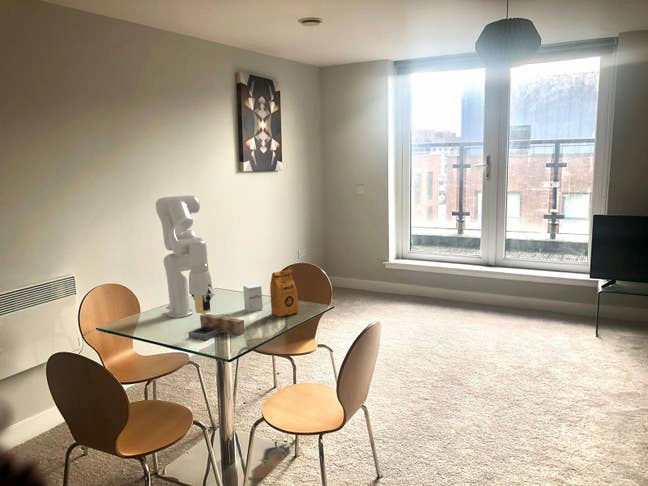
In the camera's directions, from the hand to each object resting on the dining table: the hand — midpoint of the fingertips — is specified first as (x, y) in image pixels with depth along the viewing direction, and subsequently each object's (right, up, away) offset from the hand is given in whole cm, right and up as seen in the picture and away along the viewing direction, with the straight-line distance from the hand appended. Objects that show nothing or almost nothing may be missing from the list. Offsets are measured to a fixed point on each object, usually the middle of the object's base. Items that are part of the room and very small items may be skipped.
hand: (202, 308), depth 232 cm
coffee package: (+34, -6, +29) cm, 45 cm away
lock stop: (0, -1, 0) cm, 1 cm away
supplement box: (+17, -5, +39) cm, 43 cm away
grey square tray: (0, -12, +2) cm, 12 cm away
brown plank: (+7, -11, +9) cm, 16 cm away
